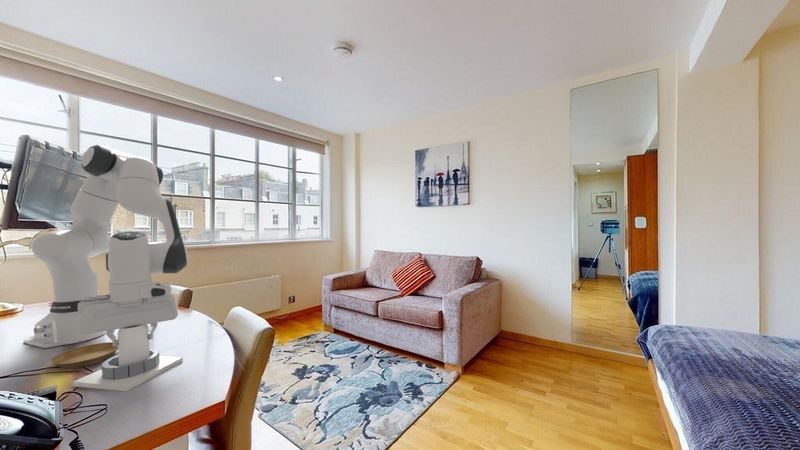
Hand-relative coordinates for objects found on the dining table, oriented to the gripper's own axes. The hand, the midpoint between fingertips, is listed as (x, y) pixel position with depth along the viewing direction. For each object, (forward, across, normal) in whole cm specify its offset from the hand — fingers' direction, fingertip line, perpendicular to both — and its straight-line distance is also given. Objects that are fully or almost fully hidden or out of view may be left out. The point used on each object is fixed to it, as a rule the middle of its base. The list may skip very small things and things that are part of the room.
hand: (133, 342), depth 84 cm
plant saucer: (+9, -12, +19) cm, 25 cm away
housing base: (+8, -1, 0) cm, 8 cm away
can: (+7, 0, +1) cm, 7 cm away
